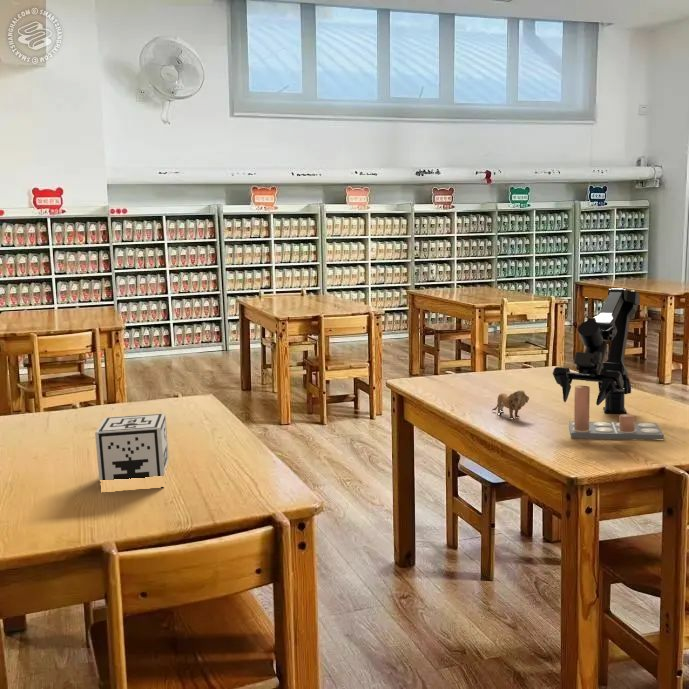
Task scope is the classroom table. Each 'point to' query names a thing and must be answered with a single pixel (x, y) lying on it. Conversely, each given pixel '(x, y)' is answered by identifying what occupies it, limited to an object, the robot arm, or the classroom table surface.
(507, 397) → the lion figurine
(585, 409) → the terracotta pin
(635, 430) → the pattern board
